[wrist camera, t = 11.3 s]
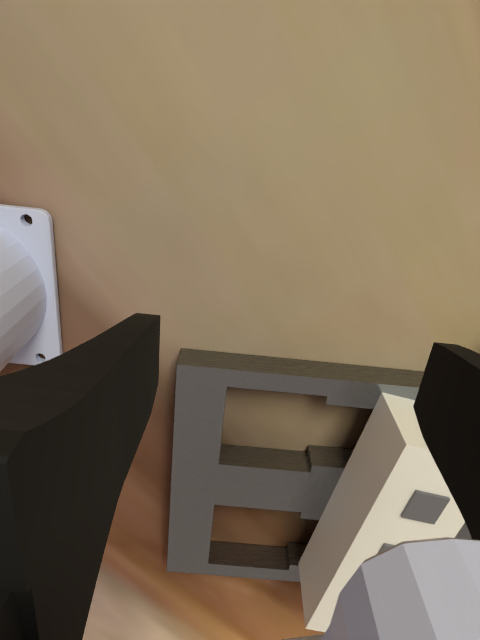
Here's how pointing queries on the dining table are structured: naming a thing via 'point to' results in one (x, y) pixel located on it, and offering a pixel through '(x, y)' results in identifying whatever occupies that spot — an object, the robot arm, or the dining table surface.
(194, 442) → the keyhole plate
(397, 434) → the power strip
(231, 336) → the dining table surface
